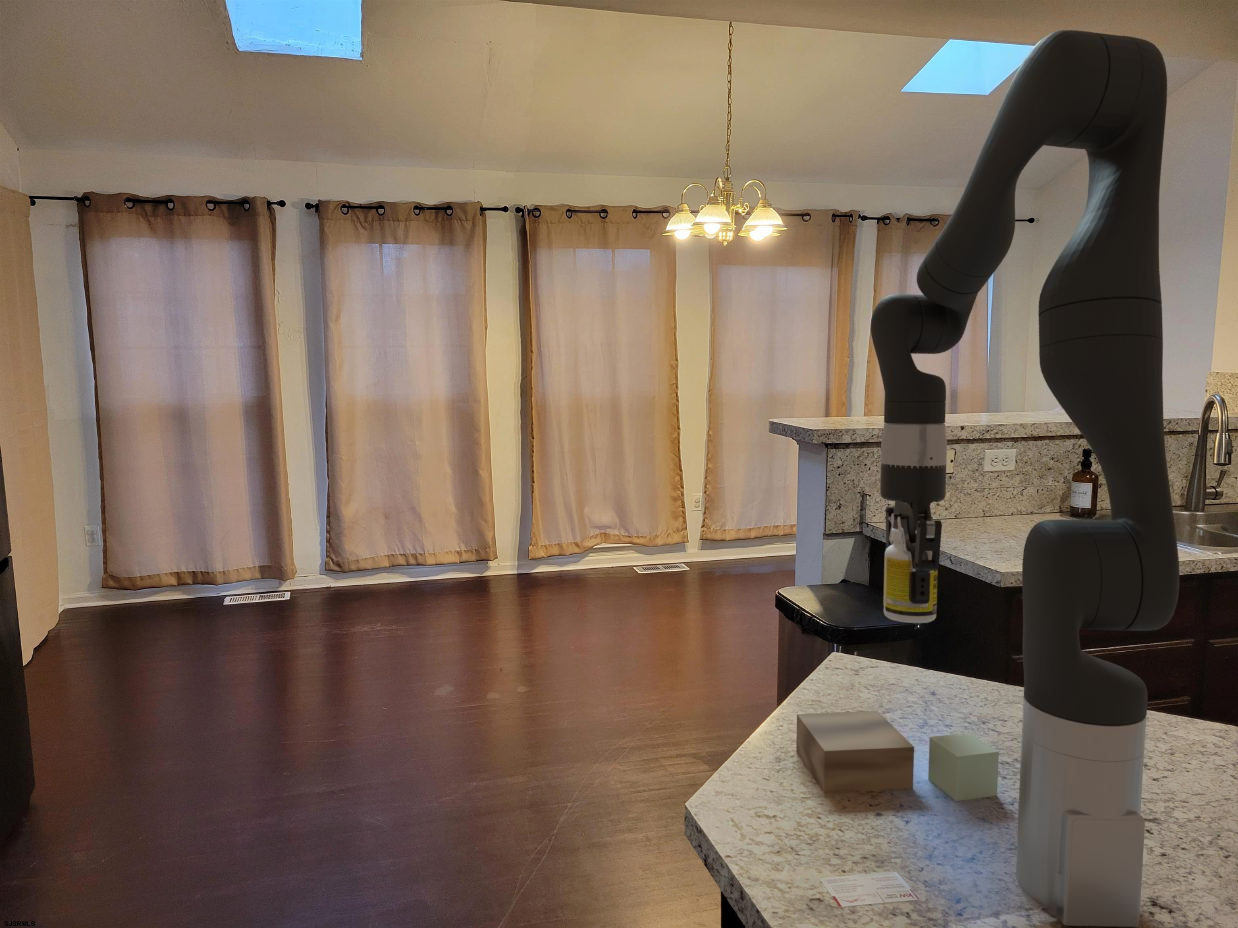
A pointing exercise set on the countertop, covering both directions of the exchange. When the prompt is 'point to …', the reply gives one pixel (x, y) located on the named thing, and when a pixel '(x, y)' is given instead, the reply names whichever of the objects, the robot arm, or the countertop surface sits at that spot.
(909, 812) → the countertop surface
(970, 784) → the sage cube
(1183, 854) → the countertop surface
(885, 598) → the pill bottle
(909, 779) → the walnut block
